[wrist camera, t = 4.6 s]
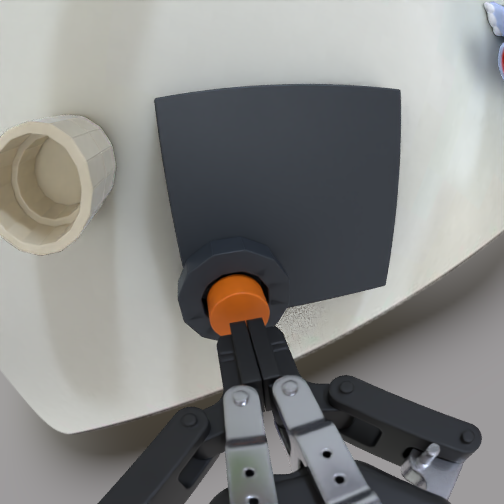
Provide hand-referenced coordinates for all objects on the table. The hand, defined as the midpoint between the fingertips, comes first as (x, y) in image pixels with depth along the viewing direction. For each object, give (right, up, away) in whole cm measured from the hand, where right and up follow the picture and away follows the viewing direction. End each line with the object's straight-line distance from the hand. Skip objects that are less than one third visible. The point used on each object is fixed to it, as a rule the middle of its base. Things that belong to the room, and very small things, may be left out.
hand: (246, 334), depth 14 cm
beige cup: (-10, +8, 0) cm, 13 cm away
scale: (+2, +7, +4) cm, 8 cm away
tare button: (-1, +1, +3) cm, 3 cm away
